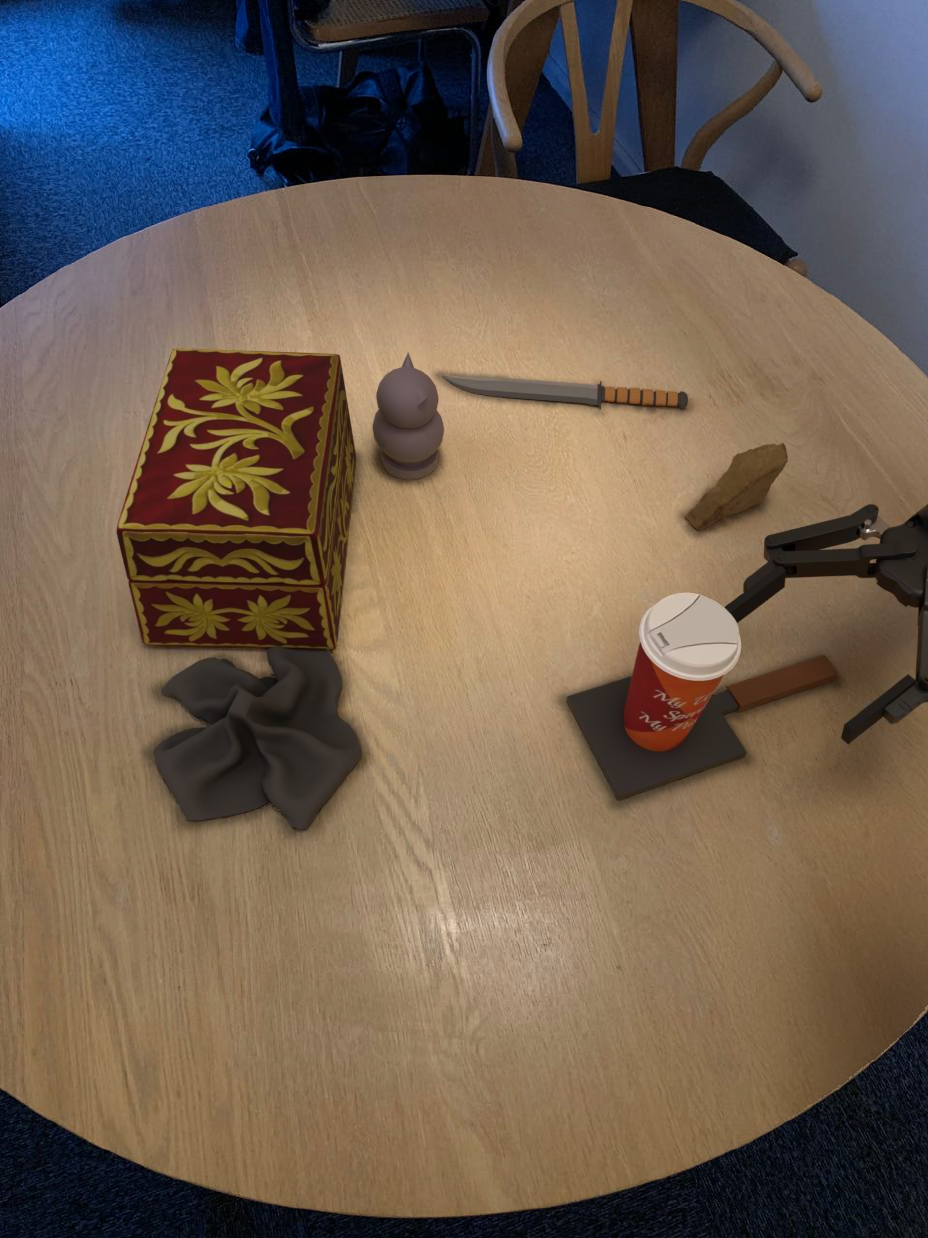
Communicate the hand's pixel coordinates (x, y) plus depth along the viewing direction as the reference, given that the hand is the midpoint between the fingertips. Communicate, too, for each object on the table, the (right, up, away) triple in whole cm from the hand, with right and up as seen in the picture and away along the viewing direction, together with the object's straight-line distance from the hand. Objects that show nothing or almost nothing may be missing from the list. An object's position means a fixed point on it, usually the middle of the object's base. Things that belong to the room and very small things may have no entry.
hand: (781, 675), depth 76 cm
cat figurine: (-32, +23, +31) cm, 50 cm away
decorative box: (-47, +12, +23) cm, 54 cm away
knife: (-14, +32, +39) cm, 52 cm away
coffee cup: (-8, -5, +11) cm, 14 cm away
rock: (+3, +17, +29) cm, 34 cm away
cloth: (-44, -5, +10) cm, 46 cm away
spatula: (-2, -4, +13) cm, 14 cm away
